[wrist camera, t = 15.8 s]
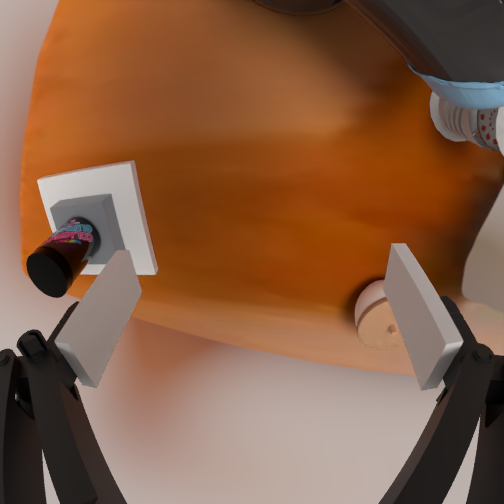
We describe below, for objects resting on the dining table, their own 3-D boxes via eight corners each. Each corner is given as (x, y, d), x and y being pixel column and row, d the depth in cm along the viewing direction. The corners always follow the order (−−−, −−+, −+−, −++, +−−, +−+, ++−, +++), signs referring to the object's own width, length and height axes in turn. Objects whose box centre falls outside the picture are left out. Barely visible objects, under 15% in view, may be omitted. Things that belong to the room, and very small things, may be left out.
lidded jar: (347, 321, 52) (357, 362, 44) (349, 272, 47) (362, 312, 39) (403, 312, 51) (419, 350, 43) (411, 263, 45) (433, 301, 37)
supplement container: (110, 236, 41) (74, 279, 32) (90, 262, 43) (57, 306, 34) (76, 205, 38) (34, 242, 29) (59, 234, 41) (21, 273, 32)
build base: (42, 176, 41) (25, 187, 37) (134, 160, 39) (120, 169, 35) (72, 269, 50) (60, 283, 46) (158, 269, 49) (149, 286, 45)
